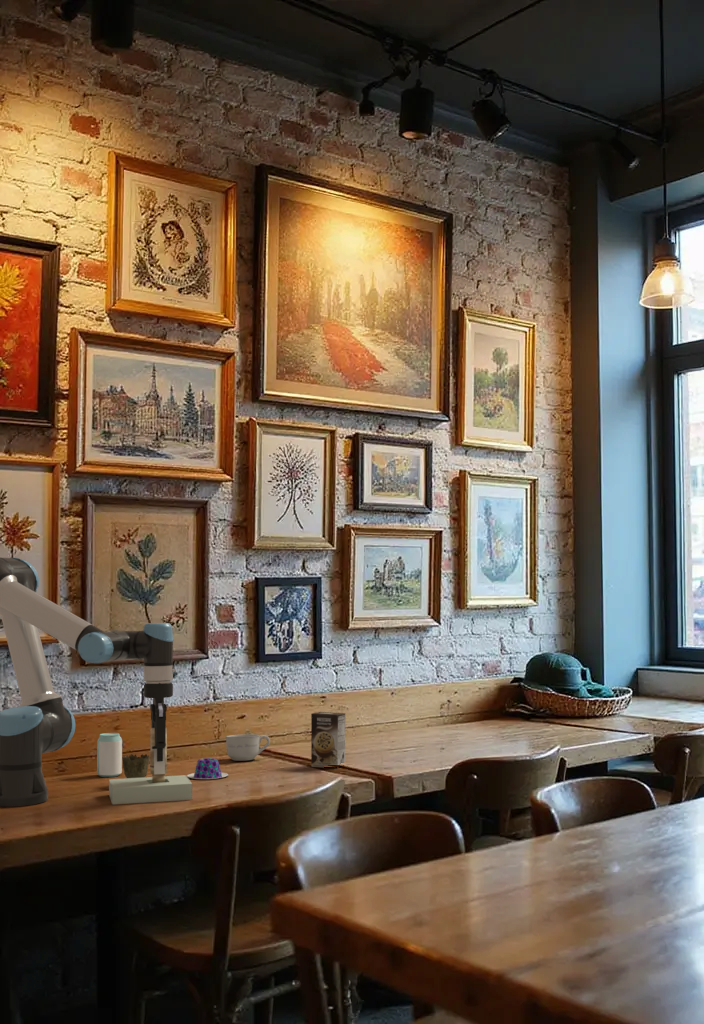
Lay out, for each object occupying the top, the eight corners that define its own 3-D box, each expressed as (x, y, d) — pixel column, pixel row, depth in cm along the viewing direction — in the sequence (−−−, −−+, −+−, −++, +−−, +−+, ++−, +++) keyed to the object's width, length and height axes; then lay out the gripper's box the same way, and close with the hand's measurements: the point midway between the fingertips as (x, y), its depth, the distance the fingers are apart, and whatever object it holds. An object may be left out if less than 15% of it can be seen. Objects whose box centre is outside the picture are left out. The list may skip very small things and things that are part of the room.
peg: (150, 784, 274) (150, 729, 275) (149, 781, 278) (149, 727, 279) (167, 783, 275) (167, 728, 276) (166, 780, 279) (166, 726, 280)
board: (112, 804, 266) (112, 788, 267) (108, 794, 280) (109, 779, 280) (192, 799, 272) (192, 783, 272) (185, 790, 285) (185, 775, 286)
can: (116, 772, 316) (117, 731, 317) (125, 775, 310) (125, 734, 311) (93, 775, 312) (94, 733, 313) (101, 778, 306) (102, 736, 307)
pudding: (237, 777, 307) (237, 758, 308) (205, 782, 298) (205, 763, 299) (209, 773, 315) (209, 755, 316) (178, 778, 306) (178, 760, 307)
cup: (152, 782, 298) (152, 753, 298) (144, 787, 290) (145, 757, 291) (126, 782, 298) (126, 753, 299) (118, 787, 291) (118, 757, 292)
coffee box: (310, 767, 323) (310, 713, 324) (319, 764, 329) (318, 711, 330) (337, 768, 319) (337, 714, 321) (346, 765, 325) (345, 712, 327)
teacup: (223, 762, 333) (223, 736, 334) (228, 757, 344) (228, 732, 345) (267, 762, 333) (267, 736, 333) (271, 757, 344) (271, 732, 344)
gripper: (176, 683, 271) (176, 776, 270) (169, 679, 288) (169, 766, 286) (147, 684, 269) (146, 778, 267) (140, 680, 286) (140, 768, 284)
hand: (158, 772), depth 277 cm, fingers closed on peg, 4 cm apart
